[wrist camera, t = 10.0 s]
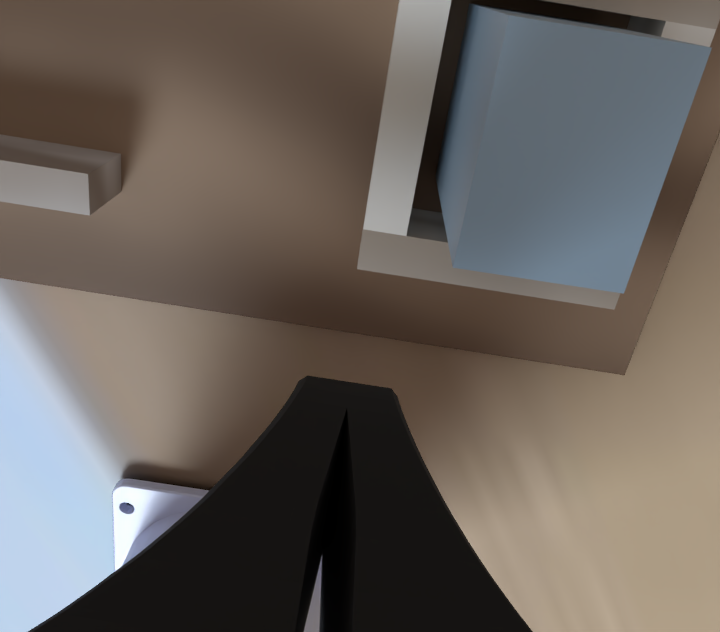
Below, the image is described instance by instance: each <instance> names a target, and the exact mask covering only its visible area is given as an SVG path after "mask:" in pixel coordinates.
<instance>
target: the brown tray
mask: <svg viewBox="0 0 720 632" xmlns="http://www.w3.org/2000/svg"><path fill="white" fill-rule="evenodd" d="M469 3H471V4H478V5H484V6H490V7H496V8H503V9H509V10H515V11H522V12H528V13H534V14H540V15H547V16H553V17H559V18H565V19H572V20H578V21H584V22H590V23H597V24H602V25H607V26H612V27H616V28H621V29H626V30H631V31H635V32H640V33H645V34H650V35H654V36H659V37H664V38H669V39H673V40H678V41H683V42H687V43H692V44H697V45H702V46H706V47H711V48H712V49H711V52H710V55H709V57H708V60H707V63H706V66H705V69H704V71H703V74H702V77H701V80H700V83H699V85H698V88H697V91H696V94H695V97H694V99H693V102H692V105H691V108H690V110H689V113H688V116H687V119H686V122H685V124H684V127H683V130H682V133H681V136H680V138H679V141H678V144H677V147H676V150H675V152H674V155H673V158H672V161H671V163H670V166H669V169H668V172H667V175H666V177H665V180H664V183H663V186H662V189H661V191H660V194H659V197H658V200H657V202H656V205H655V208H654V211H653V214H652V216H651V219H650V222H649V225H648V228H647V230H646V233H645V236H644V239H643V242H642V244H641V247H640V250H639V253H638V255H637V258H636V261H635V264H634V267H633V269H632V272H631V275H630V278H629V281H628V283H627V286H626V289H625V292H624V294H623V293H616V292H610V291H603V290H596V289H590V288H583V287H577V286H570V285H564V284H557V283H550V282H544V281H537V280H531V279H524V278H518V277H511V276H504V275H498V274H491V273H485V272H478V271H471V270H465V269H458V268H453V266H452V261H451V256H450V250H449V245H448V240H447V235H446V229H445V224H444V219H443V214H442V208H441V203H440V198H439V193H438V187H437V182H436V177H435V176H436V170H437V165H438V160H439V155H440V150H441V145H442V140H443V135H444V130H445V125H446V120H447V115H448V110H449V104H450V99H451V94H452V89H453V84H454V79H455V74H456V69H457V64H458V59H459V54H460V49H461V44H462V38H463V33H464V28H465V23H466V18H467V13H468V8H469ZM719 132H720V0H0V278H4V279H11V280H17V281H23V282H30V283H36V284H43V285H49V286H55V287H62V288H68V289H75V290H81V291H88V292H94V293H100V294H107V295H113V296H120V297H126V298H132V299H139V300H145V301H152V302H158V303H165V304H171V305H177V306H184V307H190V308H197V309H203V310H210V311H216V312H222V313H229V314H235V315H242V316H248V317H254V318H261V319H267V320H274V321H280V322H287V323H293V324H299V325H306V326H312V327H319V328H325V329H331V330H338V331H344V332H351V333H357V334H364V335H370V336H376V337H383V338H389V339H396V340H402V341H408V342H415V343H421V344H428V345H434V346H441V347H447V348H453V349H460V350H466V351H473V352H479V353H486V354H492V355H498V356H505V357H511V358H518V359H524V360H530V361H537V362H543V363H550V364H556V365H563V366H569V367H575V368H582V369H588V370H595V371H601V372H607V373H614V374H620V375H625V372H626V370H627V367H628V365H629V362H630V360H631V357H632V355H633V352H634V349H635V347H636V344H637V342H638V339H639V337H640V334H641V332H642V329H643V326H644V324H645V321H646V319H647V316H648V314H649V311H650V309H651V306H652V303H653V301H654V298H655V296H656V293H657V291H658V288H659V286H660V283H661V280H662V278H663V275H664V273H665V270H666V268H667V265H668V262H669V260H670V257H671V255H672V252H673V250H674V247H675V245H676V242H677V239H678V237H679V234H680V232H681V229H682V227H683V224H684V222H685V219H686V216H687V214H688V211H689V209H690V206H691V204H692V201H693V199H694V196H695V193H696V191H697V188H698V186H699V183H700V181H701V178H702V176H703V173H704V170H705V168H706V165H707V163H708V160H709V158H710V155H711V153H712V150H713V147H714V145H715V142H716V140H717V137H718V135H719Z"/></svg>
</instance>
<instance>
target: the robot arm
mask: <svg viewBox="0 0 720 632" xmlns="http://www.w3.org/2000/svg"><path fill="white" fill-rule="evenodd" d="M125 502H127V503H130V504H132V505H133V506H130V505H127V504H126V503H125ZM112 503H113V537H114V571H115V572H114V573H112V574H111V575H110V576H108V577H107V578H106V579H104V580H103V581H102V582H100V583H99V584H98V585H96V586H95V587H94V588H92V589H91V590H90V591H88V592H87V593H85V594H84V595H83V596H81V597H80V598H78V599H77V600H75V601H74V602H73V603H71V604H70V605H68V606H67V607H65V608H64V609H62V610H61V611H60V612H58V613H57V614H55V615H53V616H52V617H50V618H49V619H47V620H46V621H44V622H42V623H41V624H39V625H38V626H36V627H35V628H33V629H32V630H30V631H28V632H532V630H531V629H530V628H529V627H528V625H527V624H526V623H525V621H524V620H523V619H522V618H521V616H520V615H519V614H518V612H517V611H516V610H515V609H514V607H513V606H512V604H511V603H510V602H509V600H508V599H507V598H506V596H505V595H504V593H503V592H502V591H501V589H500V588H499V586H498V585H497V584H496V582H495V581H494V580H493V578H492V577H491V575H490V574H489V572H488V571H487V569H486V568H485V566H484V565H483V563H482V562H481V560H480V559H479V557H478V556H477V554H476V553H475V551H474V550H473V548H472V547H471V545H470V543H469V542H468V540H467V539H466V537H465V535H464V534H463V532H462V530H461V529H460V527H459V525H458V524H457V522H456V520H455V519H454V517H453V515H452V514H451V512H450V510H449V508H448V507H447V505H446V503H445V501H444V500H443V498H442V496H441V494H440V492H439V490H438V488H437V486H436V484H435V482H434V481H433V479H432V477H431V475H430V473H429V471H428V469H427V467H426V465H425V463H424V461H423V459H422V457H421V455H420V453H419V451H418V448H417V446H416V444H415V442H414V439H413V437H412V435H411V432H410V430H409V428H408V425H407V423H406V420H405V418H404V415H403V412H402V410H401V407H400V404H399V401H398V397H397V396H396V394H395V393H394V392H393V390H392V389H390V388H384V387H377V386H371V385H364V384H358V383H351V382H345V381H338V380H332V379H325V378H319V377H313V376H306V377H305V378H303V379H302V380H300V381H299V382H298V384H297V386H296V388H295V389H294V391H293V393H292V394H291V396H290V398H289V399H288V401H287V402H286V403H285V405H284V406H283V408H282V409H281V411H280V412H279V413H278V414H277V416H276V417H275V418H274V420H273V421H272V422H271V424H270V425H269V426H268V427H267V429H266V430H265V431H264V432H263V433H262V434H261V436H260V437H259V438H258V439H257V440H256V442H255V443H254V444H253V445H252V446H251V447H250V449H249V450H248V451H247V452H246V453H245V454H244V456H243V457H242V458H241V459H240V460H239V461H238V462H237V463H236V464H235V465H234V466H233V467H232V468H231V469H230V470H229V471H228V472H227V473H226V474H225V476H224V477H223V478H222V479H221V480H220V481H219V482H218V483H217V484H216V485H215V486H214V487H213V488H212V489H211V490H203V489H196V488H190V487H183V486H176V485H170V484H163V483H156V482H150V481H143V480H136V479H122V480H120V481H119V482H118V483H117V484H116V486H115V487H114V489H113V493H112Z"/></svg>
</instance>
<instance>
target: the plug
mask: <svg viewBox="0 0 720 632" xmlns="http://www.w3.org/2000/svg"><path fill="white" fill-rule="evenodd" d="M711 49H712V48H711V47H706V46H702V45H697V44H692V43H687V42H683V41H678V40H673V39H669V38H664V37H659V36H654V35H650V34H645V33H640V32H635V31H631V30H626V29H621V28H616V27H612V26H607V25H602V24H597V23H590V22H584V21H578V20H572V19H565V18H559V17H553V16H547V15H540V14H534V13H528V12H522V11H515V10H509V9H503V8H496V7H490V6H484V5H478V4H471V3H469V8H468V13H467V18H466V23H465V28H464V33H463V38H462V44H461V49H460V54H459V59H458V64H457V69H456V74H455V79H454V84H453V89H452V94H451V99H450V104H449V110H448V115H447V120H446V125H445V130H444V135H443V140H442V145H441V150H440V155H439V160H438V165H437V170H436V176H435V177H436V182H437V187H438V193H439V198H440V203H441V208H442V214H443V219H444V224H445V229H446V235H447V240H448V245H449V250H450V256H451V261H452V266H453V268H458V269H465V270H471V271H478V272H485V273H491V274H498V275H504V276H511V277H518V278H524V279H531V280H537V281H544V282H550V283H557V284H564V285H570V286H577V287H583V288H590V289H596V290H603V291H610V292H616V293H623V294H624V292H625V289H626V286H627V283H628V281H629V278H630V275H631V272H632V269H633V267H634V264H635V261H636V258H637V255H638V253H639V250H640V247H641V244H642V242H643V239H644V236H645V233H646V230H647V228H648V225H649V222H650V219H651V216H652V214H653V211H654V208H655V205H656V202H657V200H658V197H659V194H660V191H661V189H662V186H663V183H664V180H665V177H666V175H667V172H668V169H669V166H670V163H671V161H672V158H673V155H674V152H675V150H676V147H677V144H678V141H679V138H680V136H681V133H682V130H683V127H684V124H685V122H686V119H687V116H688V113H689V110H690V108H691V105H692V102H693V99H694V97H695V94H696V91H697V88H698V85H699V83H700V80H701V77H702V74H703V71H704V69H705V66H706V63H707V60H708V57H709V55H710V52H711Z"/></svg>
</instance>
